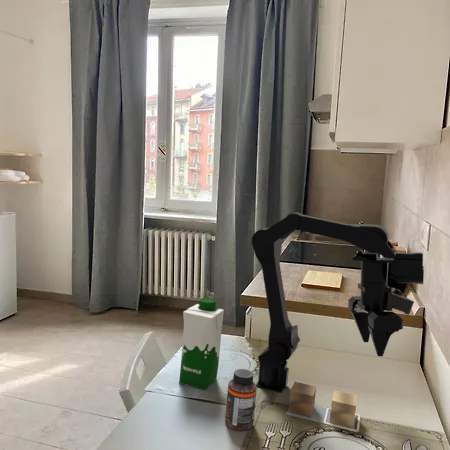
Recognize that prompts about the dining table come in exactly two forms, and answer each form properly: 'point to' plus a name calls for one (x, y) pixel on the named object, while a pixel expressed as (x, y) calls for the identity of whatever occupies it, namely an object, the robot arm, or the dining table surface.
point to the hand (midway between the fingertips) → (372, 348)
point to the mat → (319, 416)
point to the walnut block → (302, 399)
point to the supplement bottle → (241, 401)
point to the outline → (341, 426)
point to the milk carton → (201, 344)
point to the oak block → (343, 409)
